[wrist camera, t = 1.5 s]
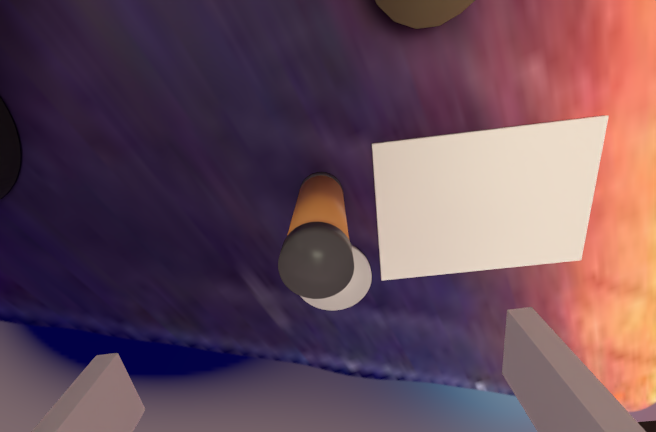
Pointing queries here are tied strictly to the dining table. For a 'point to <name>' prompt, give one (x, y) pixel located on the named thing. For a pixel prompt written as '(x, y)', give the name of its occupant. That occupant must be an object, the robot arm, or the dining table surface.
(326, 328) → the dining table surface
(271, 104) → the dining table surface
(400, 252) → the paper
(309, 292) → the thermos bottle
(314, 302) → the coaster
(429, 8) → the squeeze bottle
